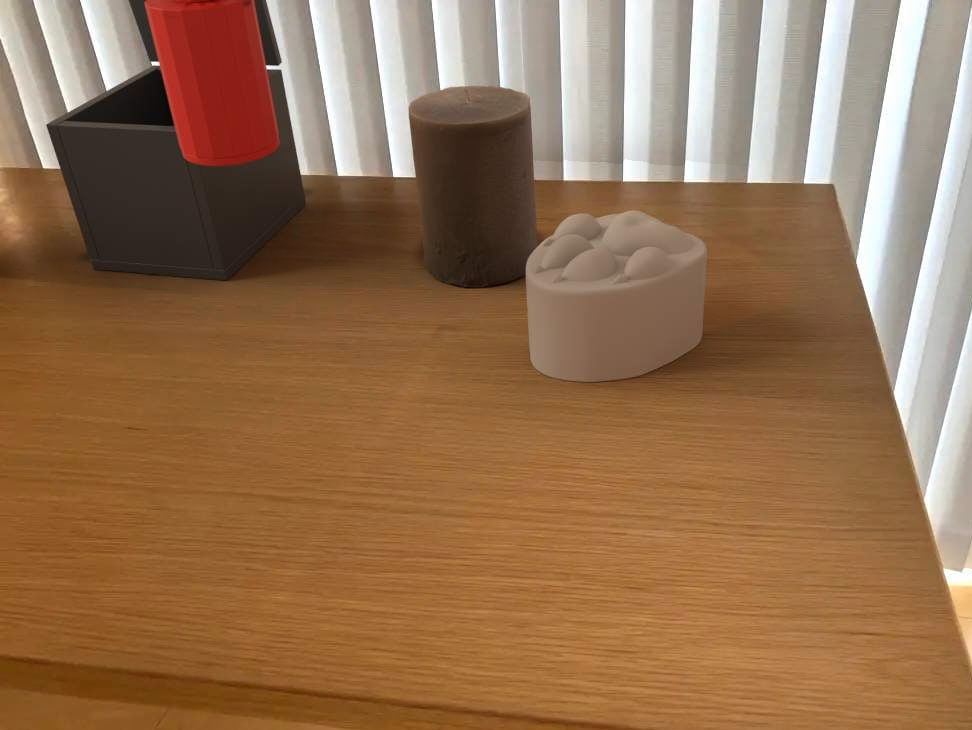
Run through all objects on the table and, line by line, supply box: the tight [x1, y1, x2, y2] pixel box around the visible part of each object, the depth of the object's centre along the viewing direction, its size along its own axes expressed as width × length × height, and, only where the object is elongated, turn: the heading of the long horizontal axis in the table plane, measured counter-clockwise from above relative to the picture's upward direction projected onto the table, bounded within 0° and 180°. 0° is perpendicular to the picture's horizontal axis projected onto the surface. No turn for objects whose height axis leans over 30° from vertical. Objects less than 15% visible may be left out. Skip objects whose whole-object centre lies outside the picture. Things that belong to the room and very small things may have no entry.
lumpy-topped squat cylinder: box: [525, 209, 708, 383], centre depth 72 cm, size 10×13×9 cm
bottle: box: [145, 0, 279, 166], centre depth 58 cm, size 6×6×15 cm
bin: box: [45, 64, 307, 282], centre depth 89 cm, size 16×13×13 cm
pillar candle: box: [408, 85, 539, 288], centre depth 82 cm, size 10×10×15 cm
